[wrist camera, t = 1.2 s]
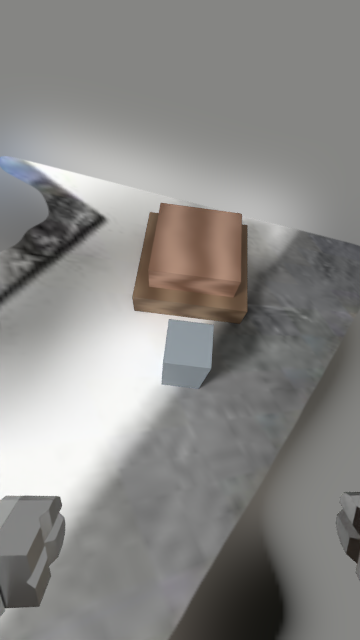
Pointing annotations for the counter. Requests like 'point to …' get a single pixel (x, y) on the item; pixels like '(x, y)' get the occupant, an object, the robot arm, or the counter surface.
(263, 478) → the counter surface
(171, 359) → the slate brick
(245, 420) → the counter surface
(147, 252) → the plinth
